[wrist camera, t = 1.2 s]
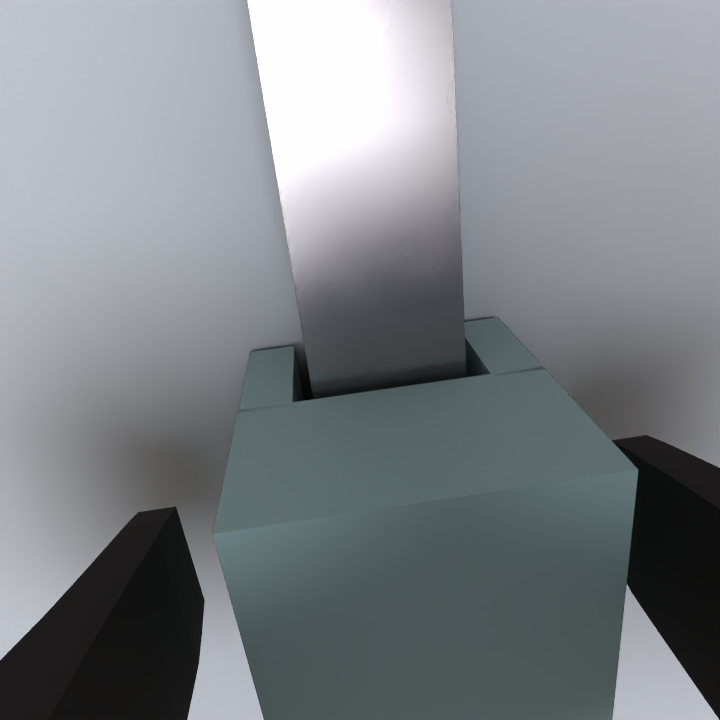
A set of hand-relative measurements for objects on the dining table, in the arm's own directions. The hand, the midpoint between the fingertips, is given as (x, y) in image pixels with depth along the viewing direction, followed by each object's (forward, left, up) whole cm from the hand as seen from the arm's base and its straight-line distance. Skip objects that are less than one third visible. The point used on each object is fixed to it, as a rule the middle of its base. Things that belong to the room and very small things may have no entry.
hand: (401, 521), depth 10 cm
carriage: (0, 0, -2) cm, 2 cm away
